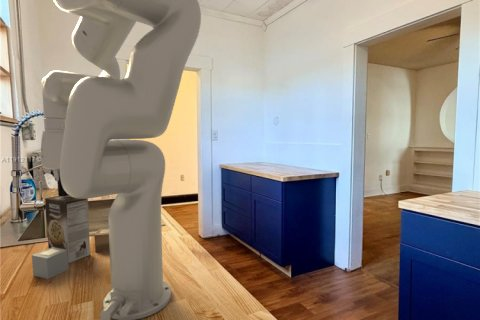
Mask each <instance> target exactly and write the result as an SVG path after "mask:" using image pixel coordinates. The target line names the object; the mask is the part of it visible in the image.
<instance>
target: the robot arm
mask: <svg viewBox="0 0 480 320" xmlns="http://www.w3.org/2000/svg"><path fill="white" fill-rule="evenodd" d="M53 2H54V3H55V5H56V7H58V8H59V9H60V10H61V11H63V12H66V13H68V14H72V15H74V16H79V19H78V21H77V24H76V26H75V28H74V30H73V31H72V34H71V41H72V42H71V43H72V45H73V47H74V49H75V50H76V51H77V52H78V53H79V55H81V57H83V58H84V59H85V60H87V61H88V62H90V63H91V64H93V65H95V66H96V67H97V68H98V69H101V70H102V72H101V73H100V74H99V75H90V74H86V73H85V74H83V73H76V72H70V71H65V70H63V71H62V70H52V71H50V72H49V73H48V74H47V75H46V76H44V77H43V78H42V80H41V90H42V108H43V109H42V110H43V118H44V119H43V123H44V130H42V135H41V141H40V162H41V167H42V168H43V172H44V173H45V174H48V175H51V176H52V177H53V178H54V180H55V182H57V191H58V193H57V194H58V195H57V196H68V195H70V196H72V197H74V198H78V199H88V200H89V199H94V198H101V197H105V196H111V195H116V196H115V198H114V200H113V202H112V204H111V206H110V209H109V212H108V218H107V222H108V225H107V226H108V227H107V228H108V229H109V248H110V251H109V263H110V266H109V267H110V269H109V270H110V285H111V286H110V287H111V290H110V291H109V292H108V293H107V294H106V296H104V297H103V298H104V299H103V301H102V310H101V312H100V313H99V319H100V320H111V319H114V320H140V319H144V318H146V317H150V316H152V315H154V314H156V313H158V312H160V311H161V310H162V309H164V308H165V307H166V306H167V305H168V303H169V302H170V300H171V297H172V288H171V286H170V285H169V284H168V283H167V282H165V281H164V275H163V274H164V272H163V271H164V270H163V245H162V243H163V242H162V241H163V240H162V239H163V237H162V236H163V235H162V194H163V193H162V191H163V185H164V184H163V183H164V178H165V175H166V174H165V172H166V159H165V155H164V153H163V151H162V149H161V148H160V147H159V146H158V145H156V144H155V143H153V142H151V141H148V140H145V139H153V138H158V137H160V136H163V135H164V133H165V132H166V131H167V129H168V126H169V123H170V120H171V117H172V115H173V110H174V106H175V103H176V99H177V95H178V93H179V92H178V91H179V88H180V85H181V80H182V76H183V73H184V70H185V67H186V64H187V62H188V60H189V57H190V54H191V53H192V51H193V48H194V46H195V45H196V44H195V43H196V42H197V39H198V36H199V33H200V28H201V21H202V19H201V18H202V12H201V6H200V3H199V0H53ZM136 23H141V24H144V25H147V26H150V27H151V28H152V29H151V30H150V31H148V32H147V33H145V35H144V36H142V38H140V39H139V40H138V42H137V43H136V44H135V45H134V47H133V48H132V50H131V53H130V55H129V59H128V61H129V62H128V67H127V70H126V74H125V76H124V78H122V79H121V68H120V66H119V62H118V59H117V58H116V56H117V54H118V52H119V51H120V50H121V48H122V46H123V44H124V43H125V41H126V40H127V38H128V36H129V34H130V33H131V32H132V30H133V28H134V26H135V25H136ZM142 139H143V140H142Z"/></svg>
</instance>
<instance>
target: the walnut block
mask: <svg viewBox="0 0 480 320" xmlns="http://www.w3.org/2000/svg"><path fill="white" fill-rule="evenodd" d="M93 237H94V252H95V253H101V252H102V253H104V252H110V248H109V228H100V229H98V230H97V231H96V232H95V234H94V236H93Z"/></svg>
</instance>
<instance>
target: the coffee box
mask: <svg viewBox="0 0 480 320" xmlns="http://www.w3.org/2000/svg"><path fill="white" fill-rule="evenodd" d="M44 202H45V215H46V216H45V217H46V231H47V244H48V245H47V247H48V248H47V249H49V248H52V247H55V248H60V249H65V250H67V253H68V264H70V263H73V262H76V261H78V260H80V259H83V258H86V257H87V256H90V255H91V243H90V242H91V241H90V221H89V219H90V217H89V198H88V199H78V198H74V197H72V196H70V195H68V196H59V195H54V196H50V197H45V198H44Z"/></svg>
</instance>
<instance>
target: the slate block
mask: <svg viewBox="0 0 480 320" xmlns="http://www.w3.org/2000/svg"><path fill="white" fill-rule="evenodd" d="M31 263H32V274H33V276H34V277H38V278H42V279H46V280H50V279H52V278H54V277H56V276H58V275H61V274H62V273H64V272H66V271H68V270H69V263H68V253H67V250H65V249H60V248H55V247H52V248H47V249H44V250H42V251H39V252H36V253H34V254H32V255H31Z"/></svg>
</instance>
